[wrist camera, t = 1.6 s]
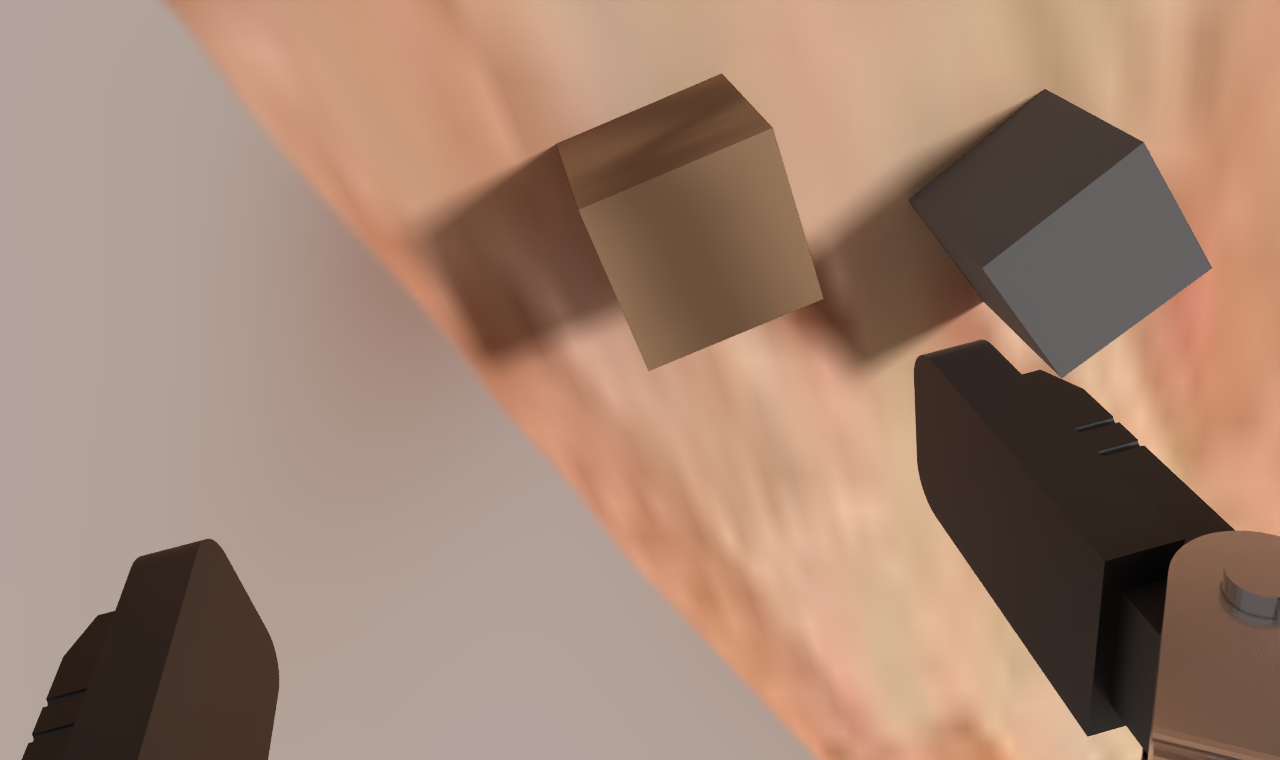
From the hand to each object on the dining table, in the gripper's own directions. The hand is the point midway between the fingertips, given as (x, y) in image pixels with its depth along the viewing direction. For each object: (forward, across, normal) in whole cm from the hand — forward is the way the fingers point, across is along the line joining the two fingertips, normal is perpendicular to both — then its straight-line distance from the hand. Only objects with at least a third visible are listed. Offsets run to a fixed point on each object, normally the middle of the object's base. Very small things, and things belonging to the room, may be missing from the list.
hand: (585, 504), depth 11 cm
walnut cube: (+18, -4, +4) cm, 19 cm away
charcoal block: (+18, -15, +7) cm, 25 cm away
